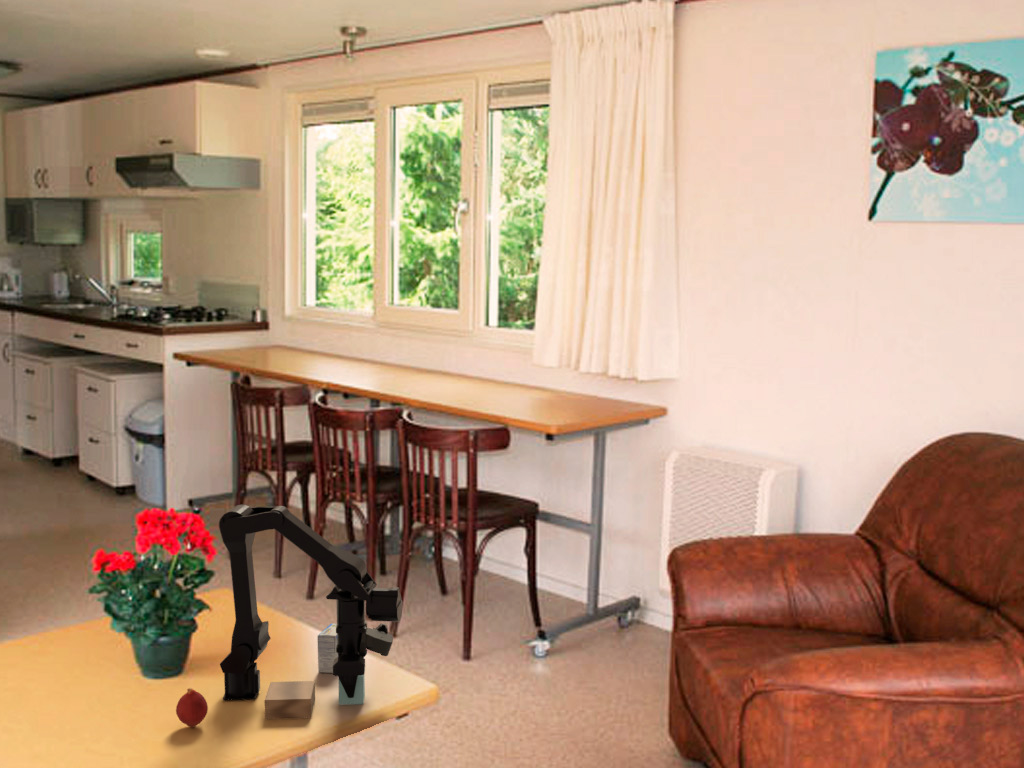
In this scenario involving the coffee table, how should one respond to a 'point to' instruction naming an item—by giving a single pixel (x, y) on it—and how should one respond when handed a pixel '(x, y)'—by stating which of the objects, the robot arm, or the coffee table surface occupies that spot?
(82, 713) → the coffee table surface
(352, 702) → the teal block
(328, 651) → the medicine box
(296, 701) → the walnut stand
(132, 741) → the coffee table surface
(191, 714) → the onion
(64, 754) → the coffee table surface
